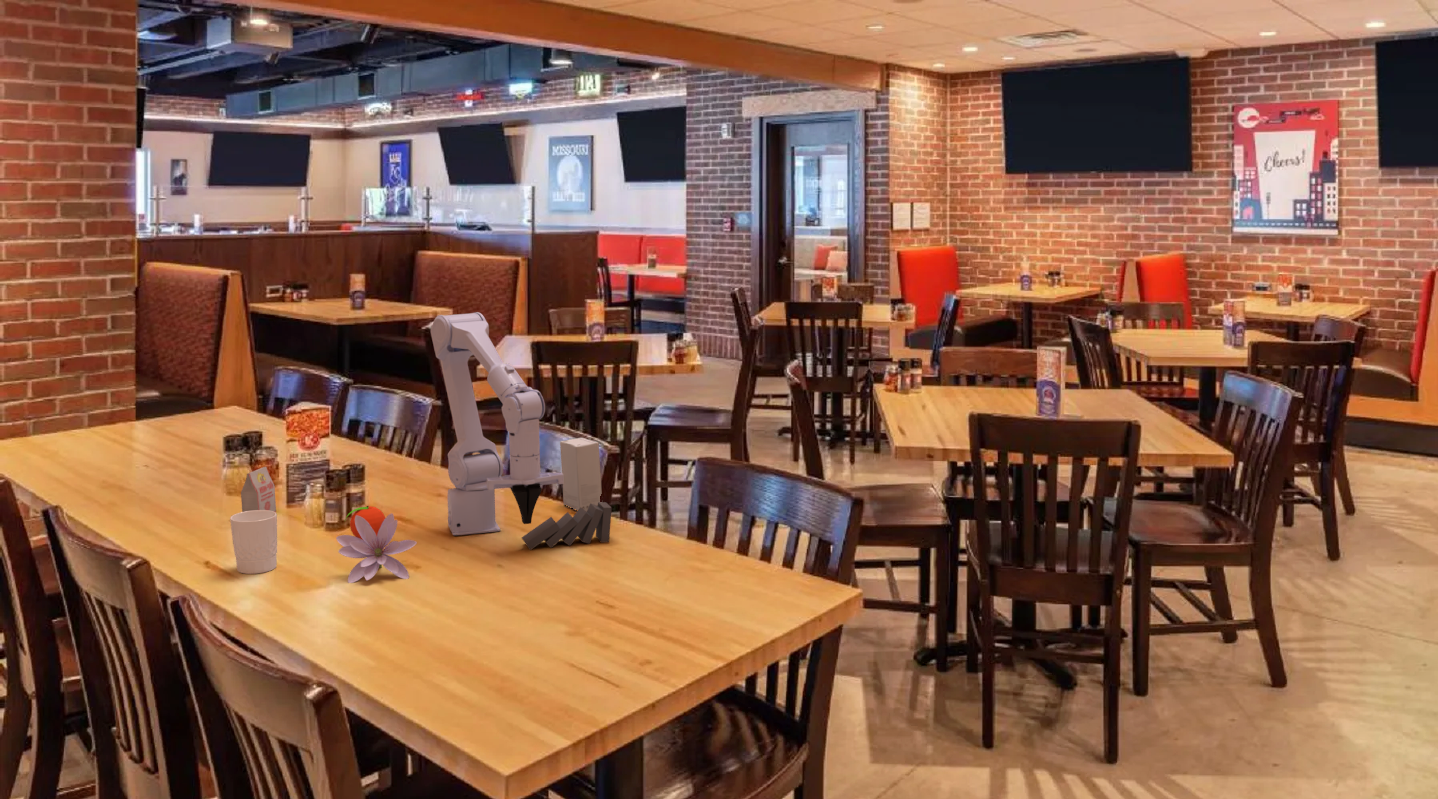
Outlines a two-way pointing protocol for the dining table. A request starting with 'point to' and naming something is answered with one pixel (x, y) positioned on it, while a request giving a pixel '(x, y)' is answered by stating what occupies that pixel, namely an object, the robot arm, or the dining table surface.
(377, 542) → the water lily
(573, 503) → the skincare box
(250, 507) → the milk carton
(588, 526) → the tile
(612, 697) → the dining table surface
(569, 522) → the tile
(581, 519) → the tile
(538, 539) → the tile
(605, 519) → the tile
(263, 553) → the white cup
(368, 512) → the tomato
